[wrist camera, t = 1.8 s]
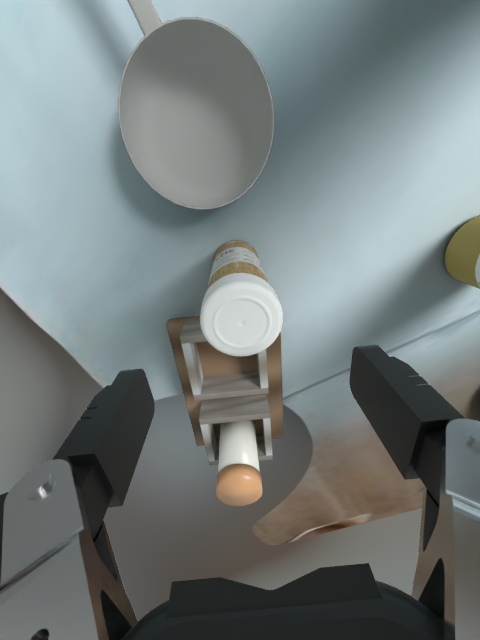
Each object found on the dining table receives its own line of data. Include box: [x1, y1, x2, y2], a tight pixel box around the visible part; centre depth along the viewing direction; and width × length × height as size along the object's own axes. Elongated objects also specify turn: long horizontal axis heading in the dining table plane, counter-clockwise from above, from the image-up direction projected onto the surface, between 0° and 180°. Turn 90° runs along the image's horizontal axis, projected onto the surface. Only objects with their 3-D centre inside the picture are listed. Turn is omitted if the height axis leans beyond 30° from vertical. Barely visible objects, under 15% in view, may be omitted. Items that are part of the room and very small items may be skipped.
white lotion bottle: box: [216, 420, 262, 506], centre depth 30 cm, size 5×5×9 cm
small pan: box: [118, 0, 274, 209], centre depth 18 cm, size 11×18×4 cm, turn 27°
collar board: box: [167, 316, 284, 465], centre depth 31 cm, size 19×12×4 cm, turn 5°
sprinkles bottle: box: [200, 240, 283, 356], centre depth 20 cm, size 5×5×14 cm
